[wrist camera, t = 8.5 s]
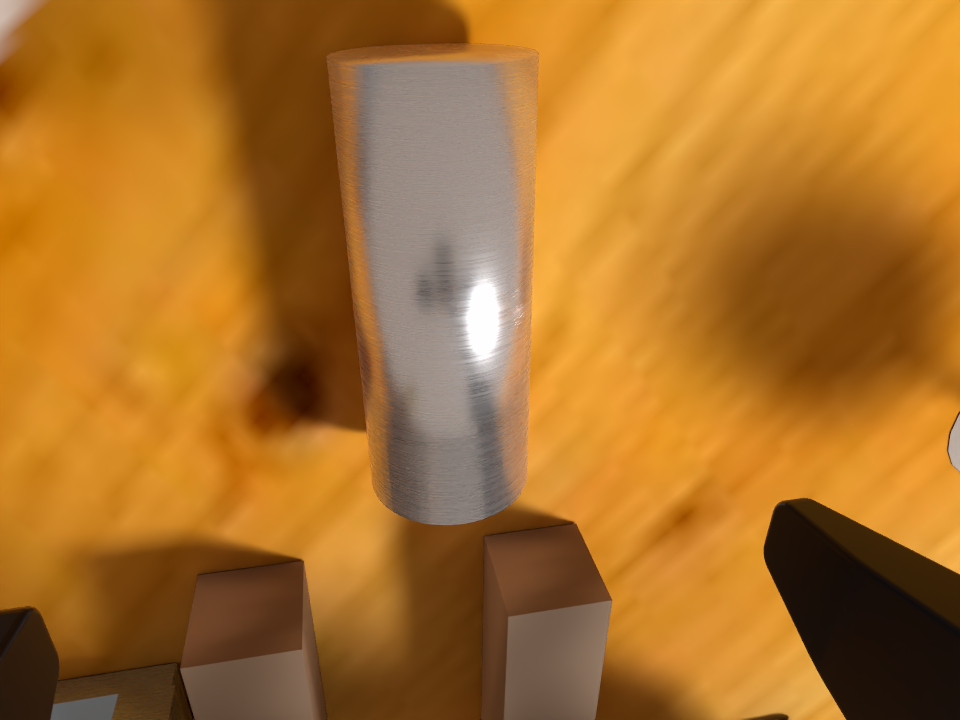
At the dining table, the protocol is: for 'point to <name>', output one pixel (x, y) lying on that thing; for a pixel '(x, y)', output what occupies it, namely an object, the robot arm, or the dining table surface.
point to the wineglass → (955, 445)
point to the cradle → (123, 696)
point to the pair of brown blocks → (505, 641)
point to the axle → (440, 266)
